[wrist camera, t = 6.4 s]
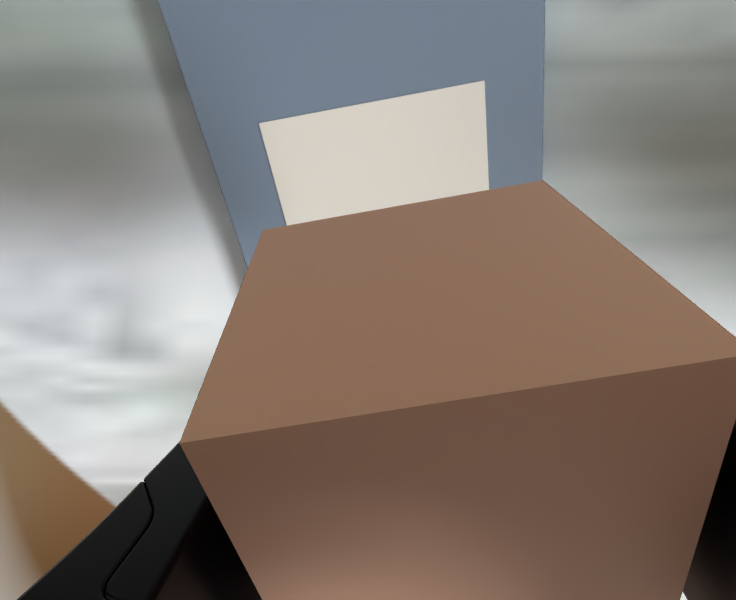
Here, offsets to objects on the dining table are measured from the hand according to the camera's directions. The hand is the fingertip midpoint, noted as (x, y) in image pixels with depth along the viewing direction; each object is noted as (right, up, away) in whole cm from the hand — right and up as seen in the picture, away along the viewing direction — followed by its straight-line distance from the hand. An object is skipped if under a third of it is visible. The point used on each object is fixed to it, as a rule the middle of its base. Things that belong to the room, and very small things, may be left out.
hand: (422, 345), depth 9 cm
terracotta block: (0, 0, +1) cm, 1 cm away
